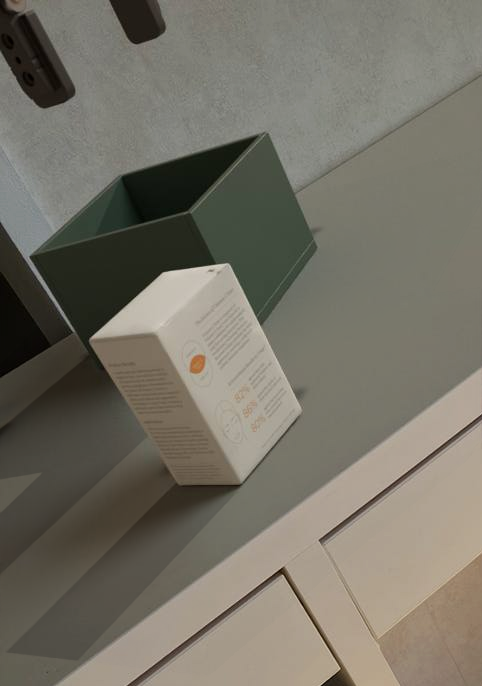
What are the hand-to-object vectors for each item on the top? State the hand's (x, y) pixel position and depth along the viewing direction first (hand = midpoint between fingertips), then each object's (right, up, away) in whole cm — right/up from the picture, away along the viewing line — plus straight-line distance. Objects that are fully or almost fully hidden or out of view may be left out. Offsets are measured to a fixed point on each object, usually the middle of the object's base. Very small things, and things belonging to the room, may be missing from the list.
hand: (106, 69), depth 53 cm
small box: (+4, -16, +15) cm, 22 cm away
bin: (-4, +1, +36) cm, 36 cm away
